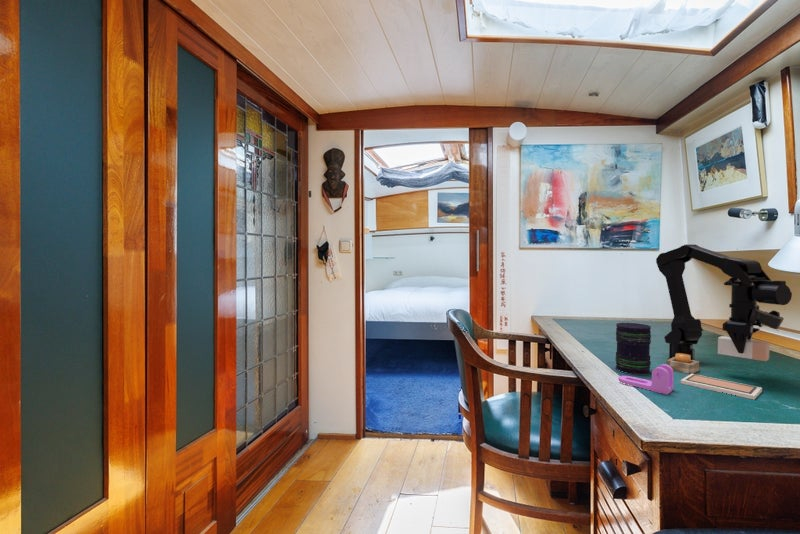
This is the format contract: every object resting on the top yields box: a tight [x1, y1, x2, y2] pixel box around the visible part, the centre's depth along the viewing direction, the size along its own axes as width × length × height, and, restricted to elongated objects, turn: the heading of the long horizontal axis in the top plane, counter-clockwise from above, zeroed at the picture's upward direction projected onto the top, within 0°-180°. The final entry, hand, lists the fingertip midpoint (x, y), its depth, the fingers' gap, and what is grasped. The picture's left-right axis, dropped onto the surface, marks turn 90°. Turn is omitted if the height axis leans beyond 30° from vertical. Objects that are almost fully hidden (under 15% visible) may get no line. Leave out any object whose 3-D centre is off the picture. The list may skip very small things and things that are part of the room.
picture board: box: [680, 373, 763, 401], centre depth 107 cm, size 16×10×1 cm, turn 38°
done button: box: [675, 353, 691, 364], centre depth 124 cm, size 4×4×3 cm
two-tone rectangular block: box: [717, 335, 770, 362], centre depth 114 cm, size 11×4×5 cm, turn 38°
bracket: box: [617, 363, 675, 395], centre depth 108 cm, size 13×6×7 cm, turn 40°
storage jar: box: [615, 322, 652, 375], centre depth 123 cm, size 10×10×15 cm
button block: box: [666, 357, 700, 375], centre depth 124 cm, size 7×7×3 cm
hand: (742, 352), depth 114 cm, fingers closed on two-tone rectangular block, 4 cm apart
